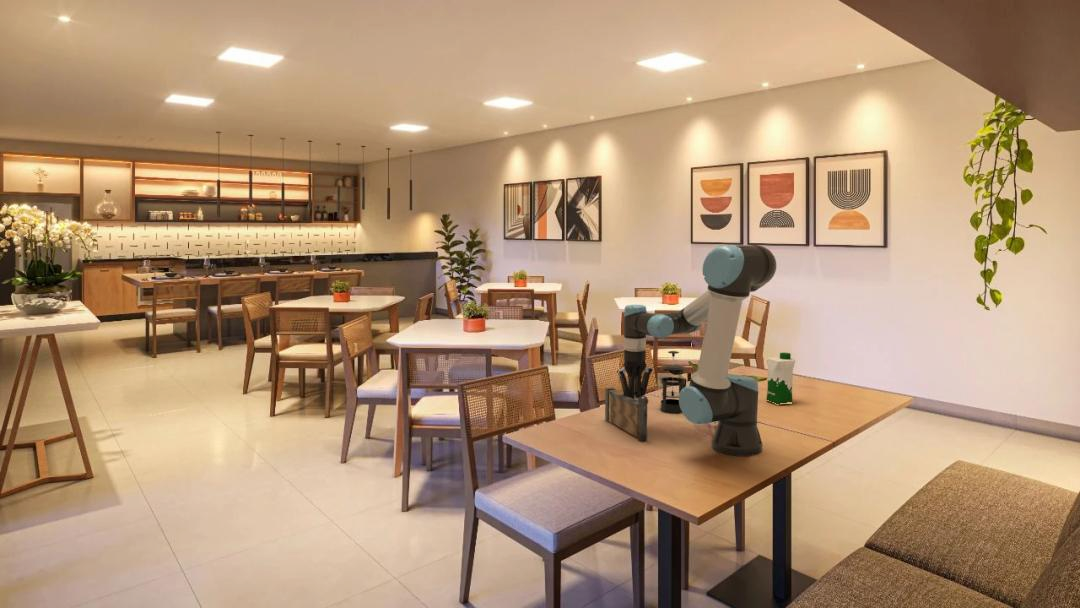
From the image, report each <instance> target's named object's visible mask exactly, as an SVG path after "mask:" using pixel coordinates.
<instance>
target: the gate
mask: <svg viewBox="0 0 1080 608" xmlns="http://www.w3.org/2000/svg"><path fill="white" fill-rule="evenodd" d="M609 421H610V423H611V424H614V425H615V426H617V427H619V428H621V429H622V430H624V431H625V432H627V433H629V434H631V435H632V436H634V437H636V438H638V422H639V404H638V401H637V400H635V399H633V398H631V397H628V396H626V395H624V393H622V392H620V391H618V390H616V389H615V390H609Z"/></svg>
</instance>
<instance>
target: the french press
mask: <svg viewBox="0 0 1080 608" xmlns="http://www.w3.org/2000/svg"><path fill="white" fill-rule="evenodd" d="M667 353H668V354H671V357H672V364H666V365H662V366H660V368H661V371H662V373H664V372H669V373H670V374H671V375H672V377H671V376H668V377H662V378H661V379H660V383H661V384H662V392H661V395H662V400H660V408H659V409H660V412H661V413H664V414H665V413H666V414H670V415H671V414H672V415H674V414H678V415H679V414H683V412H682V410H681V408H680V405H679V394H680V391H681V390H682V389H683V388H684V387H686V386H687V378H685V377H682V378H680V377H674V376H679V375H680V376H681V375H684V374H685V370H686V367H685V366H684V365H680V364H679V365H678V364H674V362H675V355H676V354H679V353H680V352H679V351H677V350H670V351H667ZM667 386H671V389H672V390H671V391H667ZM674 387H678V391H674Z"/></svg>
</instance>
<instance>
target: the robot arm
mask: <svg viewBox="0 0 1080 608" xmlns="http://www.w3.org/2000/svg"><path fill="white" fill-rule="evenodd" d="M776 259H777V258H776V257H775V255H774V254H773V252H771V251H770V249H768V248H767V247H765V246H762V245H759V244H751V245H750V244H748V245H746V244H726V245H720V246H717V247H715V248H713V249H712V250H710V251H709V252H708V254H707V255H706V256H705V258H704V261H703V264H702V276H704V278H703V279H704V281H705V283H706V284H707V290H706V291H705V292H703V293H702V294H701V295H699V296H698V297H697V298H695V299H694V300H693V301H692V302H690V303H689V304H687V305H686V306H684V307H683V308H682V309H680V310H679V311H669V312H660V313H659V312H658V313H652V312H647V306H646V305H644V304H628V305H627V304H626V305H625V307H624V314H623V348H624V350H623V365H622V368H620V369H617V370H616V373H617V374H618V376H619V379H620V383H621V389H622V392H623V393H622V394H624V395H626V396H628V397H631V398H633V399H635V400H637V401H638V398H639V397H640V396H646V393H647V389H648V385H649V381H650V376H651V375H652V372H653V368H651V367H649V366H647V363H646V360H647V359H646V358H647V350H646V349H647V336H651V337H654V338H656V339H659V338H661V339H665V338H668V337H669V336H671V335H673V336H674V335H682V334H691V333H695V332H697V331H699V330H700V329H701V326H702V324H703V323H704V322H705V321H706V323H705V328H704V335H703V339H702V345H701V349H700V356H699V360H698V366H697V370H696V371H695V372H693V373H692V374H691V376H690V379H689V384H688V385H686V387H684V388H683V389H682V390H681V391H680V394H679V398H678V400H679V405H680V408H681V410H682V412H683V413H682V415H683V416H684V417H685V418H686V419H687V420H688V421H689V422H690V423H692V424H695V425H703V424H704V425H709V424H710V423H715V422H717V424H716V428H715V430H714V434H713V436H712V438H711V447H712V448H713V449H714V450H715V451H717V452H719V453H722V454H725V455H731V456H737V457H738V456H739V457H740V456H741V457H742V456H743V457H747V456H748V457H749V456H756V455H758V454H761V453H762V452H763V441H762V439H761V434H760V431H759V428H758V407H759V404H758V403H759V394H760V393H759V382H758V381H757V380H756V379H755V378H754V377H750V376H747V375H741V374H734V373H733V374H732V373H728V372H729V369H730V363H731V357H732V353H733V348H734V345H735V343H734V342H735V338H736V332H737V330H738V324H739V321H740V320H739V318H740V315H741V309H742V304H743V301H745V300H746V299H747V298H749V297H750V294H751V293H753V292H756V291H757V290H759V289H760V288H763V287H764V286H765V285H767V284H768V283H769V282H770V281H771V280H772V279H773V278H774V276H775V274H776V271H777V260H776ZM626 374H627V376H626ZM627 380H628V381H627Z"/></svg>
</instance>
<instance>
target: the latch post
mask: <svg viewBox="0 0 1080 608" xmlns="http://www.w3.org/2000/svg"><path fill="white" fill-rule="evenodd" d="M609 390H616V388H615V387H613V386H612V387H605V389H604V391H605V392H604V403H605V404H604V407H605V409H604V417H605V418H604V421H605V422H608V423H609V422H610V421H609ZM610 423H611V422H610Z"/></svg>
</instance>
